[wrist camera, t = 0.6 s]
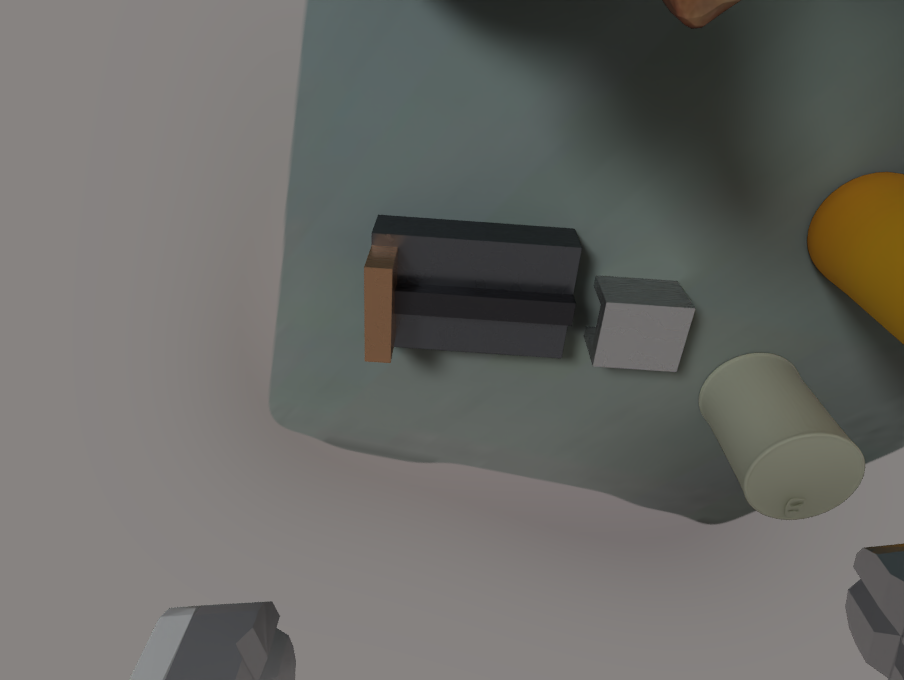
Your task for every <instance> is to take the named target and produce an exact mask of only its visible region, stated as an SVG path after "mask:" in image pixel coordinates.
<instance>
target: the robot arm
mask: <svg viewBox="0 0 904 680" xmlns="http://www.w3.org/2000/svg"><path fill="white" fill-rule="evenodd" d="M854 569H855V570H856V572H857V573H858V575H859V576H860V578H861V579H860V580H859V581H858V582H856V583H855V584H854V585H853V586H852V587H851V588H850V589H848V594H847V600H846V613H847V619H848V624H849V628H850V631H851V633H852V636H853V638H854V641H855V643H856V645H857V647H858V649H859V651H860V652H861V654H862V656H863V658H864V660H865V661H866V663H868V664H869V665H870V666H872V667H873V668H875V669H876V670H877V671H879V672H880V673H882V674H883V675H885V676H886V677H887V678H888V680H904V544H896V545H886V546H876V547H867V548H862V549H861V550H860V551H859V552H858V553H857V555H856V559H855V563H854ZM279 617H280V616H279V614H278V612H277V610H276V608H275V606H274V604H273V602H254V603H237V604H220V605H204V606H191V607H177V608H169V609H168V610H167V611H166V612H165V613H164V614H163V615H162V616H161V617H160V618H159V620H158V622H157V624H156V626H155V628H154V630H153V632H152V634H151V636H150V638H149V640H148V642H147V644H146V647H145V648H144V650H143V652H142V654H141V657H140V659H139V661H138V663H137V665H136V667H135V669H134V671H133V673H132V675H131V677H130V679H129V680H295V667H296V660H295V654H294V648H293V645H292V642H291V640H290V638H289V635H287V634H285V633H284V632H282V631H281V630H279V629H277V628H276V627H277V623H278V620H279Z"/></svg>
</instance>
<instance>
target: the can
mask: <svg viewBox="0 0 904 680" xmlns="http://www.w3.org/2000/svg"><path fill="white" fill-rule="evenodd" d="M699 408H700V411H701V413H702V415H703V417H704V419H705V420H706V421H707V422H708V423H709V425H710V427H711V429H712V431H713V432H714V434H715V436H716V438H717V440H718V442H719V444H720V446H721V448H722V450H723V452H724V454H725V455H726V457H727V459H728V461H729V463H730V465H731V467H732V469H733V471H734V473H735V475H736V477H737V479H738V481H739V483H740V485H741V487H742V489H743V492H744V495H745V497H746V500H747V501H748V503H749V504H750V505H751V506H752V507H753V508H754V509H755V510H756V511H758V512H760V513H761V514H763V515H766V516H768V517H772V518H776V519H784V520H796V519H804V518H809V517H813V516H816V515H819V514H822V513H825V512H827V511H829V510H831V509H833V508H835V507H836V506H838V505H840V504H841V503H843V502H844V501H845V500H846V499H847V498H848V497H850V496H851V495H852V494H853V493H854V491H855V490H856V489H857V488H858V486H859V484H860V483H861V480H862V479H863V476H864V471H865V461H864V457H863V454H862V452H861V451H860V449H859V448H858V447H857V445H855V444H854V443H853V442H852V441H851V440H850V438H849V437H848V436H847V435H846V434H845V432H844V431H843V430H842V429H841V428H840V426H839V425H838V424H837V423H836V422H835V420H834V419H833V418H832V417H831V415H830V414H829V413H828V412H827V410H826V409H825V408H824V407H823V405H822V404H821V403H820V402H819V400H818V399H817V398H816V397H815V395H814V394H813V393H812V392H811V390H810V389H809V388H808V386H807V385H806V384H805V383H804V381H803V380H802V379H801V377H800V375H799V373H798V371H797V369H796V368H795V367H794V366H793V365H792V364H791V363H790V362H789V361H788V360H786V359H785V358H783V357H780V356H778V355H775V354H770V353H750V354H745V355H741V356H738V357H735V358H733V359H731V360H729V361H727V362H725V363H723V364H722V365H720V366H719V367H718V368H716V369H715V370H714V371H713V372H712V373H711V374H710V375H709V377H708V378H707V379H706V381H705V382H704V384H703V386H702V388H701V391H700V394H699Z"/></svg>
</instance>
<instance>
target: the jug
mask: <svg viewBox="0 0 904 680" xmlns="http://www.w3.org/2000/svg"><path fill="white" fill-rule="evenodd" d="M662 1H663V2H664V3H665V5H666V6H667V8H668V9H669V11H670V12H671V13H672V14H673V15H674V16H676V17H677V18H678V19H679V20H680V21H681V22H682V23H683V24H684V25H686V26H688V27H689V28H691V29H694V28H702V27H703V26H705V25H706V24H707V23H709V22H710V21H712V20H713V19H714V18H716V17H717V16H719V15H720V14H721V13H723V12H724V11H726V10H727V9H729V8H730V7H732V6H733V5H735V4H736V3H738V2H739V1H741V0H662Z"/></svg>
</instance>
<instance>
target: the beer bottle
mask: <svg viewBox="0 0 904 680" xmlns="http://www.w3.org/2000/svg"><path fill="white" fill-rule="evenodd" d="M807 244H808V251H809V254H810V257H811V259H812V261H813V263H814V264H815V266H816V267H817V269H818V270H819V271H820V272H821V273H822V274H823V275H824V276H825V277H826V278H827V279H828V280H829V281H831V282H832V283H833V284H835V285H836V286H837V287H838V288H840V289H841V290H842V291H843V292H845V293H846V294H847V295H848V296H849V297H850V298H851V299H853V300H854V301H855V302H856V303H857V304H858V305H859V306H860V307H862V308H863V309H864V310H865V311H866V312H867V313H868V314H870V315H871V316H872V317H873V318H874V319H875V320H876V321H877V322H879V323H880V324H881V325H882V326H883V327H884V328H885V329H887V330H888V331H889V332H890V333H891V334H892V335H893V336H894V337H896V338H897V339H898V340H899V341H900V342H901V343H902V344H904V174H899V173H892V172H878V173H872V174H868V175H863V176H861V177H858V178H856V179H853V180H851V181H849V182H847V183H845V184H844V185H842V186H840V187H839V188H838V189H836V190H835V191H834V192H832V193H831V194H830V195H829V196H828V197H827V198H826V199H825V200H824V201H823V203H822V204H821V205H820V207H819V208H818V209H817V211H816V213H815V215H814V216H813V218H812V221H811V223H810V226H809V230H808V237H807Z"/></svg>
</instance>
